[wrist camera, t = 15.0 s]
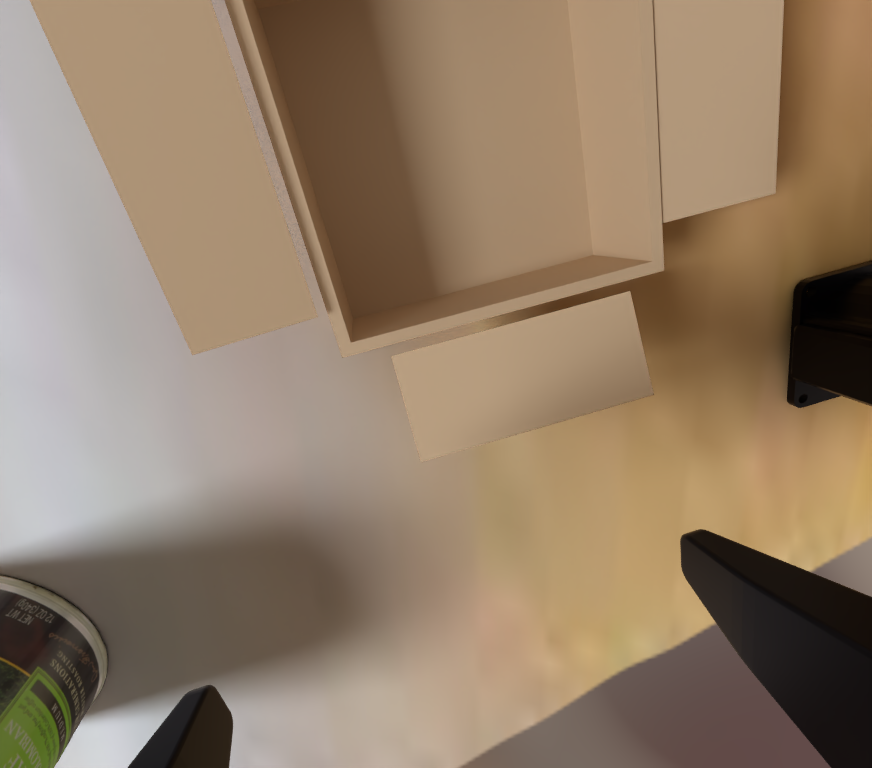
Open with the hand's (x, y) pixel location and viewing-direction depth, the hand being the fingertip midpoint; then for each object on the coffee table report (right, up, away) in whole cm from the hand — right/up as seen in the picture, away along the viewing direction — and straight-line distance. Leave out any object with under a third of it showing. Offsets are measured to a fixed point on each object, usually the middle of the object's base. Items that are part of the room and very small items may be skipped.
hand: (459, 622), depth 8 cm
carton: (+1, +16, +8) cm, 17 cm away
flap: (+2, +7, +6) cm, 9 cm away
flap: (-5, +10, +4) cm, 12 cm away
